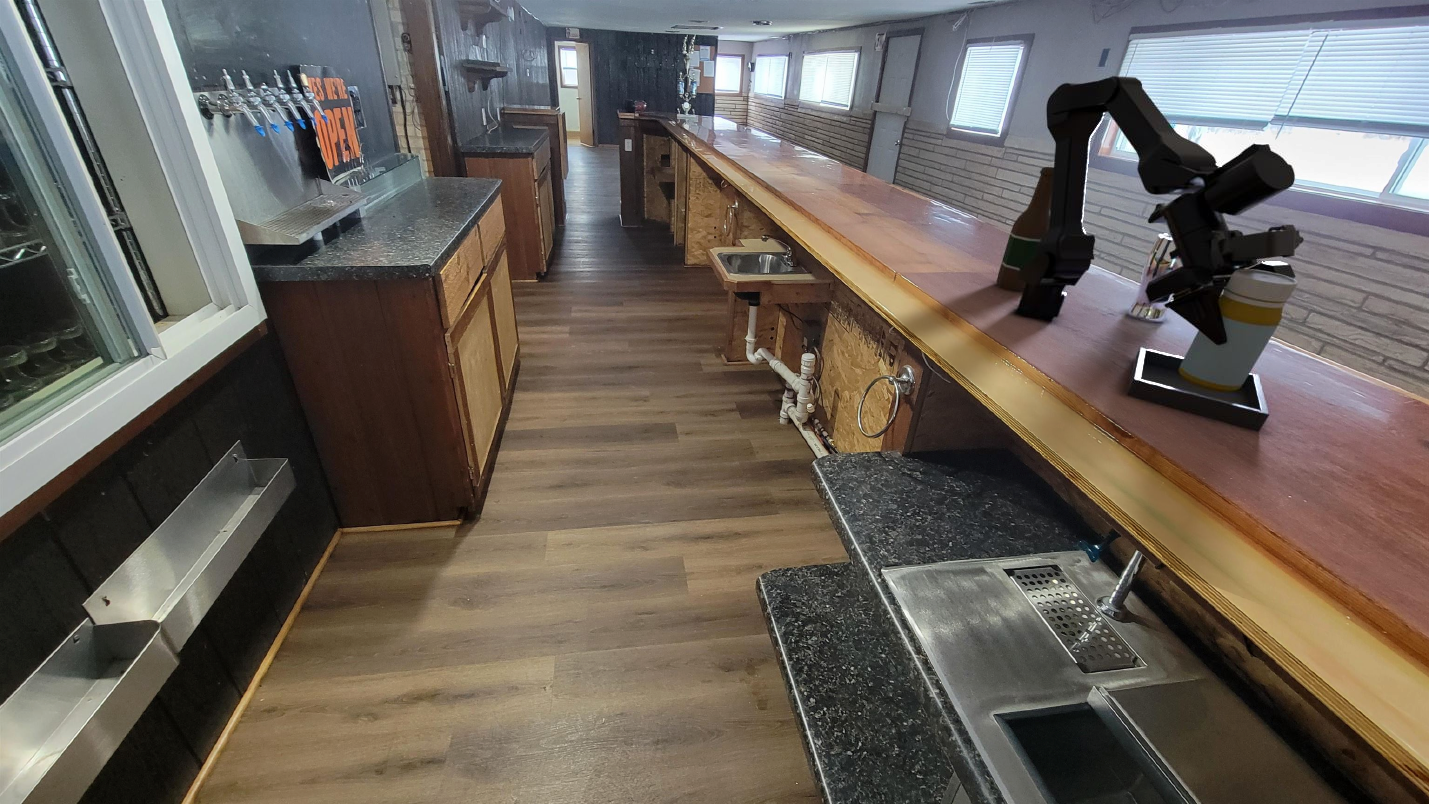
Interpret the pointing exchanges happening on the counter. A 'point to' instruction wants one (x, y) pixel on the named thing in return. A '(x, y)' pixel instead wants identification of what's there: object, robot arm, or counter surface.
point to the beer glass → (1153, 269)
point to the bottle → (1238, 330)
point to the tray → (1195, 391)
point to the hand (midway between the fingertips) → (1241, 342)
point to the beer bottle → (1027, 233)
